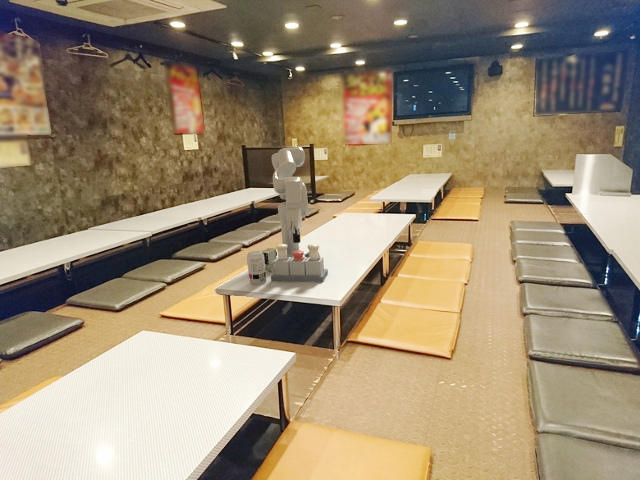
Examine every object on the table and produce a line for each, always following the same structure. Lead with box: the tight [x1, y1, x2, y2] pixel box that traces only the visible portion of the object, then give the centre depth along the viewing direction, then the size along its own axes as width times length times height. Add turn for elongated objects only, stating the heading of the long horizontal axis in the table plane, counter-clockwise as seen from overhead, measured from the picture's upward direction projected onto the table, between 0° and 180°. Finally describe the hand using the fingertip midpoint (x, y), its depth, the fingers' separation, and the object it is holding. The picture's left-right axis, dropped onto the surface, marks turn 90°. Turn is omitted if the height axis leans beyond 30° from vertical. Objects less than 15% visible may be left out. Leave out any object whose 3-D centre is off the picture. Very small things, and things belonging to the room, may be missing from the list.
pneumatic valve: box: [261, 247, 278, 272], centre depth 223 cm, size 6×12×12 cm, turn 156°
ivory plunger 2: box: [307, 243, 320, 261], centre depth 205 cm, size 6×6×8 cm
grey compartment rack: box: [270, 256, 329, 283], centre depth 208 cm, size 12×26×10 cm, turn 78°
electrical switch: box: [304, 251, 321, 257], centre depth 225 cm, size 9×5×9 cm, turn 152°
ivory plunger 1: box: [275, 243, 288, 261], centre depth 208 cm, size 6×6×8 cm
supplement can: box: [246, 250, 267, 286], centre depth 204 cm, size 8×8×15 cm
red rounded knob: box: [292, 250, 305, 261], centre depth 207 cm, size 6×6×8 cm
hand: (297, 242), depth 206 cm, fingers closed
